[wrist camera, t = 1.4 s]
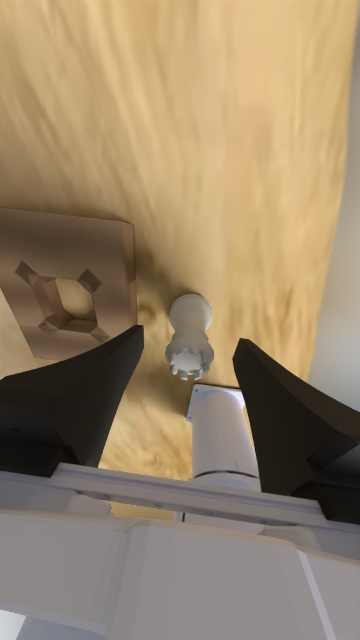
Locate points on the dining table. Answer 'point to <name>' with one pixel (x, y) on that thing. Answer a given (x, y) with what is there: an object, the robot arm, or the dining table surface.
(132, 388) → the dining table surface
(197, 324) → the rook chess piece
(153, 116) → the dining table surface
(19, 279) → the socket board
